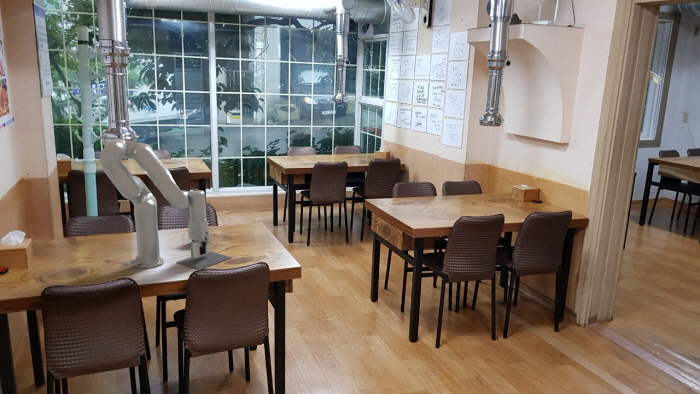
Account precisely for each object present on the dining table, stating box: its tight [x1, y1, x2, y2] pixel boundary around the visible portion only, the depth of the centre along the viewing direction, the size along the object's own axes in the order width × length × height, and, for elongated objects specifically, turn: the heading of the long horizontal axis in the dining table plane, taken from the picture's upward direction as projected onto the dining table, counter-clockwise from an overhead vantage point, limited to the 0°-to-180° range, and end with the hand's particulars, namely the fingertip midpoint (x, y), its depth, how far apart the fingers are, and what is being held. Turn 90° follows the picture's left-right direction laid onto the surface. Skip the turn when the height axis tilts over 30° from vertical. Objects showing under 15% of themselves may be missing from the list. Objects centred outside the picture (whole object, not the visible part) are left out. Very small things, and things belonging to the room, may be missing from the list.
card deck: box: [189, 241, 211, 258], centre depth 250 cm, size 9×3×7 cm, turn 147°
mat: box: [175, 251, 232, 271], centre depth 249 cm, size 20×16×1 cm
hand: (200, 253), depth 250 cm, fingers closed on card deck, 3 cm apart
